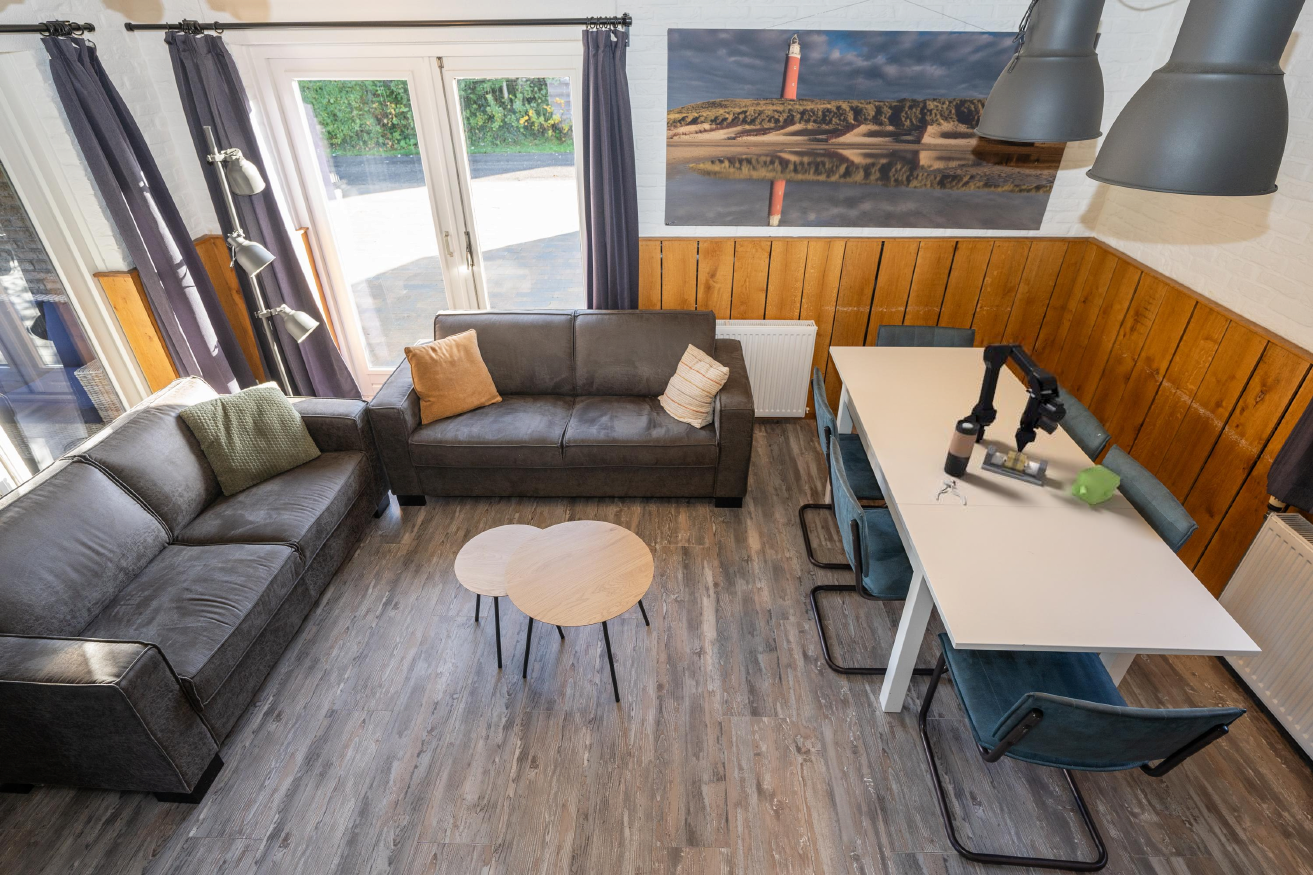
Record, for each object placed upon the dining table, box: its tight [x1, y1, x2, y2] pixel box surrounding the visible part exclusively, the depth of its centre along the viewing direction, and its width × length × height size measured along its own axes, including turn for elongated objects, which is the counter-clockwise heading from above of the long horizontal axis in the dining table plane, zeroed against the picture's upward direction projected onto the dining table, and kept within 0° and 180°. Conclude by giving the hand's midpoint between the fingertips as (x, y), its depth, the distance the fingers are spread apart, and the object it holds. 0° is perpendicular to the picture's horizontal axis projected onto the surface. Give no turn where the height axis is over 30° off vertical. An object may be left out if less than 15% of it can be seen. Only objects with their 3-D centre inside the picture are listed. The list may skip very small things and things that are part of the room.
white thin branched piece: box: [934, 475, 966, 506], centre depth 233 cm, size 10×2×15 cm
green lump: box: [1069, 464, 1122, 506], centre depth 230 cm, size 18×10×10 cm, turn 116°
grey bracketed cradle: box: [980, 444, 1049, 487], centre depth 244 cm, size 20×10×6 cm, turn 58°
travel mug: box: [943, 418, 980, 478], centre depth 239 cm, size 8×8×20 cm
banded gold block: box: [1004, 450, 1028, 473], centre depth 244 cm, size 6×5×6 cm
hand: (1021, 446), depth 240 cm, fingers open, 9 cm apart
